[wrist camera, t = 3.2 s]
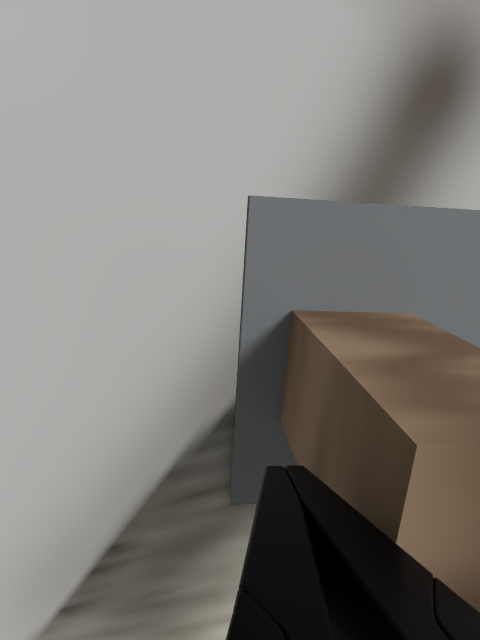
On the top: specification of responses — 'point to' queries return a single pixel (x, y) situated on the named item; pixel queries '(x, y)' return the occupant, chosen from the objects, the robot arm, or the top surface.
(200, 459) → the top surface
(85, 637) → the top surface
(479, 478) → the walnut block
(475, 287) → the gray flat panel
